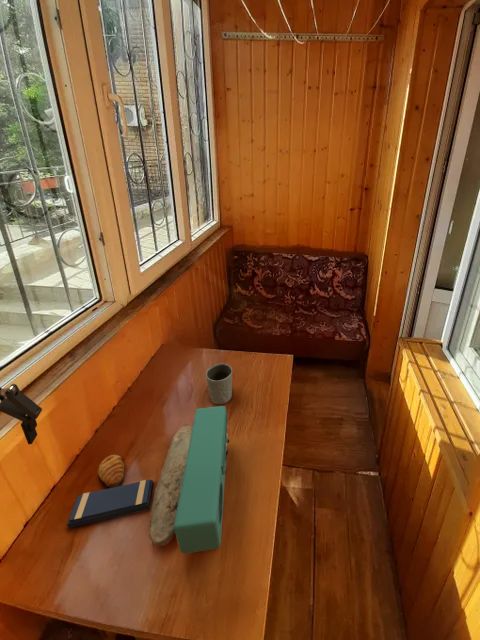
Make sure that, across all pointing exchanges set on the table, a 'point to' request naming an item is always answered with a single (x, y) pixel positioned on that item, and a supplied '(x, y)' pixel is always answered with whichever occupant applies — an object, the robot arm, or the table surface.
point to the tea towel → (111, 503)
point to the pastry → (111, 470)
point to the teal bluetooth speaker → (203, 483)
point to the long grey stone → (169, 488)
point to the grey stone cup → (220, 383)
